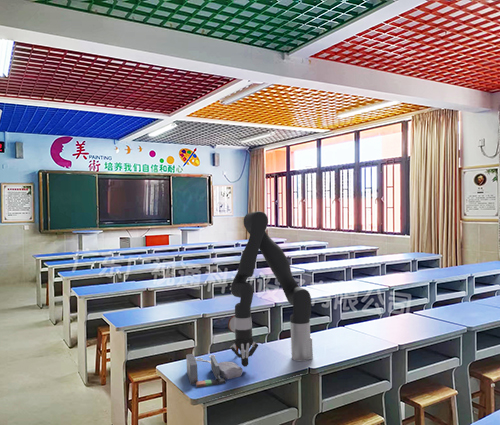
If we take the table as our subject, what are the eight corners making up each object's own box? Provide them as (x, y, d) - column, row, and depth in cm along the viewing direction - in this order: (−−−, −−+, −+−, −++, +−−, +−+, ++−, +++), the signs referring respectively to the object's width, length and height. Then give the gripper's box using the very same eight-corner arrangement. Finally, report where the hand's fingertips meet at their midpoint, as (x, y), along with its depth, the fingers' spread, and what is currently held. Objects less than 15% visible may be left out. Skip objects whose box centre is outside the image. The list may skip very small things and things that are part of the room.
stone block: (233, 371, 188) (213, 371, 183) (235, 360, 188) (215, 360, 183) (245, 381, 177) (223, 381, 172) (246, 370, 177) (225, 370, 173)
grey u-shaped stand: (218, 368, 187) (217, 350, 187) (225, 383, 170) (224, 363, 170) (187, 372, 183) (186, 354, 183) (191, 388, 166) (190, 368, 166)
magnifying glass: (230, 358, 200) (228, 316, 200) (228, 357, 201) (227, 316, 201) (246, 354, 203) (244, 314, 204) (244, 353, 205) (242, 313, 205)
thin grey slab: (214, 368, 186) (214, 355, 186) (222, 383, 168) (221, 369, 169) (211, 368, 185) (210, 356, 185) (218, 383, 168) (217, 370, 168)
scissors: (212, 353, 206) (229, 365, 188) (212, 355, 206) (229, 367, 188) (192, 358, 201) (208, 370, 183) (192, 359, 201) (208, 372, 183)
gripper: (255, 323, 188) (256, 361, 188) (227, 326, 185) (228, 365, 184) (260, 327, 181) (261, 367, 181) (230, 330, 177) (232, 371, 177)
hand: (244, 366), depth 183 cm, fingers closed
